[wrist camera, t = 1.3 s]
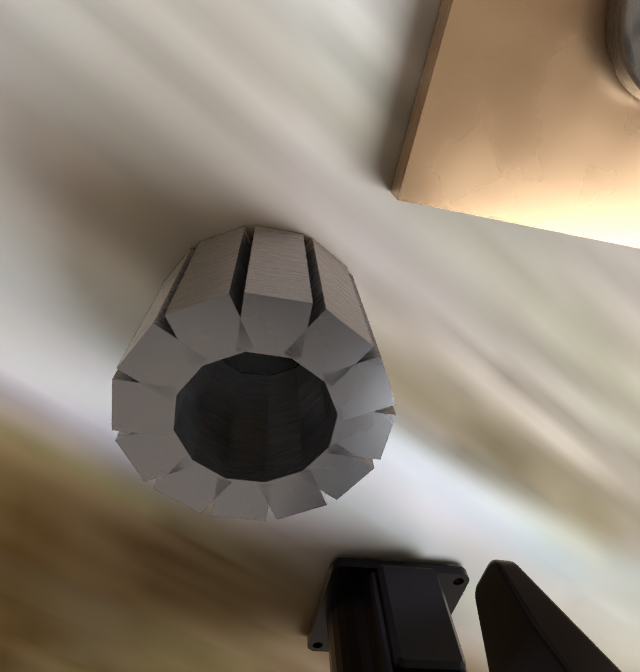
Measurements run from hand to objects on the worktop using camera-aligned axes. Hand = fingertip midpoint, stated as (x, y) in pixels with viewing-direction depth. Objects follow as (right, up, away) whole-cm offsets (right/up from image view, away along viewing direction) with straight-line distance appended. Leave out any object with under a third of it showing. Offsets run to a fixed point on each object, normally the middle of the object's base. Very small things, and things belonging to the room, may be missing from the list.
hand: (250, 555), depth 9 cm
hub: (-1, +4, +7) cm, 9 cm away
